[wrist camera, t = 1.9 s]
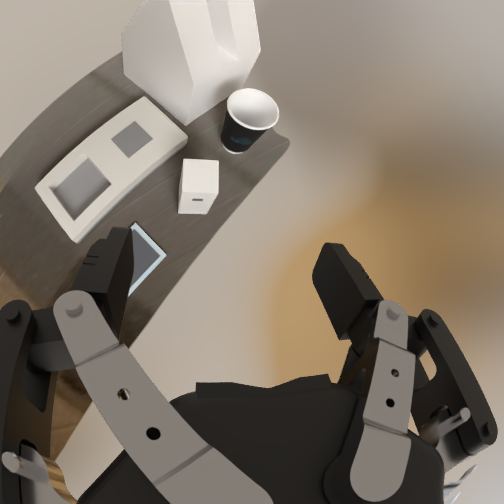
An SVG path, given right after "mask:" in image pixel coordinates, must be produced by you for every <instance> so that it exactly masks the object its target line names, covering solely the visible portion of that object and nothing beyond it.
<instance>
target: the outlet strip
mask: <svg viewBox="0 0 504 504" xmlns="http://www.w3.org/2000/svg"><path fill="white" fill-rule="evenodd" d="M187 141H188V136H187V135H186V134H185V133H184V132H183V131H182V130H181V129H180V128H179V127H178V126H177V125H175V124H174V123H173V122H172V121H171V120H170V119H169V118H168V117H167V116H166V115H165V114H164V113H162V112H161V111H160V110H159V109H158V108H157V107H156V106H155V105H154V104H153V103H152V102H150V101H149V100H148V99H147V98H146V97H145V96H144V97H142V98H141V99H139V100H138V101H136V102H134V103H133V104H132V105H130V106H129V107H127V108H126V109H124V110H123V111H121V112H120V113H119V114H117V115H116V116H114V117H113V118H112V119H110V120H109V121H108V122H106V123H105V124H104V125H102V126H101V127H100V128H99V129H97V130H96V131H95V132H94V133H92V134H91V135H90V136H89V137H87V138H86V139H85V140H84V141H83V142H81V143H80V144H79V145H78V146H77V147H76V148H75V149H73V150H72V151H71V152H70V153H69V154H68V155H67V156H66V157H65V158H64V159H62V160H61V161H60V162H59V163H58V164H57V165H56V166H55V167H54V168H53V169H52V170H51V171H50V172H49V173H48V174H47V175H46V176H45V177H44V178H43V179H42V180H41V181H40V182H39V183H38V184H37V186H36V187H35V189H36V191H37V192H38V194H39V195H40V197H41V198H42V200H43V201H44V203H45V204H46V206H47V207H48V209H49V210H50V211H51V213H52V214H53V216H54V217H55V218H56V220H57V221H58V222H59V224H60V225H61V227H62V228H63V229H64V230H65V232H66V233H67V234H68V236H69V237H70V238H71V240H72V241H74V242H76V243H78V244H79V243H80V242H81V241H82V239H83V238H84V237H85V236H86V235H87V234H88V233H89V232H90V231H91V230H92V229H93V228H94V227H95V226H96V225H97V224H98V223H99V222H100V221H101V220H102V219H103V218H104V217H105V216H106V215H107V214H108V213H109V212H110V211H111V210H112V209H113V208H114V207H115V206H116V205H117V204H118V203H119V202H120V201H121V200H122V199H123V198H125V197H126V196H127V195H128V194H129V193H130V192H131V191H132V190H133V189H134V188H136V187H137V186H138V185H139V184H140V183H141V182H142V181H143V180H145V179H146V178H147V177H148V176H149V175H150V174H152V173H153V172H154V171H155V170H156V169H158V168H159V167H160V166H161V165H162V164H164V163H165V162H166V161H167V160H169V159H170V158H171V157H172V156H174V155H175V154H176V153H177V152H179V151H180V150H181V149H183V148H184V147H185V146H187Z"/></svg>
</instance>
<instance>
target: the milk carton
mask: <svg viewBox="0 0 504 504" xmlns="http://www.w3.org/2000/svg"><path fill="white" fill-rule="evenodd" d="M122 52H123V67H124V75H125V76H127V77H128V78H129V79H130V80H132V81H133V82H134V83H135V84H136V85H138V86H139V87H140V88H141V89H143V90H144V91H145V92H146V93H147V94H149V95H150V96H151V97H152V98H153V99H154V100H156V101H157V102H158V103H159V104H160V105H162V106H163V107H164V108H165V109H166V110H167V111H169V112H170V113H171V114H172V115H173V116H174V117H175V118H177V119H178V120H179V121H180V122H181V123H182V124H183V125H185V126H186V125H188V124H189V123H191V122H192V121H193V120H195V119H196V118H198V117H199V116H200V115H202V114H203V113H205V112H206V111H208V110H209V109H211V108H212V107H214V106H215V105H217V104H218V103H220V102H221V101H223V100H224V99H226V98H228V97H229V96H230V95H231V94H232V93H233V92H234V91H236V90H239V89H242V88H243V86H244V84H245V82H246V80H247V77H248V75H249V73H250V71H251V69H252V67H253V65H254V63H255V61H256V59H257V57H258V55H259V53H260V52H261V49H260V41H259V34H258V28H257V21H256V15H255V8H254V2H253V0H144V2H143V3H142V4H141V6H140V7H139V9H138V10H137V11H136V13H135V14H134V16H133V17H132V19H131V20H130V22H129V23H128V25H127V26H126V28H125V29H124V31H123V33H122Z"/></svg>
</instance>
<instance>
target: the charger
mask: <svg viewBox="0 0 504 504" xmlns="http://www.w3.org/2000/svg"><path fill="white" fill-rule="evenodd" d="M218 165H219V161H214V160H198V159H184V160H183V166H182V172H181V178H180V184H179V202H178V213H181V214H207V212H208V211H209V209H210V207H211V205H212V203H213V202H214V200H215V198H216V197H217V195H218Z"/></svg>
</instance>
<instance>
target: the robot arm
mask: <svg viewBox="0 0 504 504" xmlns="http://www.w3.org/2000/svg"><path fill="white" fill-rule="evenodd" d="M133 273H134V252H133V236H132V229H131V228H125V227H113V228H112V229H111V231H110V233H109V235H108V237H107V239H99V240H98V241H97V242H95V243H94V244H93V245H92V246H91V247H90V249H89V251H88V253H87V255H86V257H85V259H84V261H83V265H82V266H81V268H80V270H79V272H78V274H77V276H76V279H75V281H74V283H73V285H72V288H71V290H70V292H67V293H65V294H63V295H62V296H60V297H59V298H58V299H57V301H56V302H55V305H54V307H51V308H46V309H40V310H34V311H32V310H31V308H30V306H29V304H28V303H27V302H25V301H23V300H13V301H11V302H9V303H7V304H6V305H5V306H3V308H2V309H1V310H0V504H444V500H443V487H444V475H445V473H446V472H447V471H449V470H450V469H452V468H453V467H454V466H456V465H457V464H459V463H461V462H463V461H465V460H467V459H469V458H471V457H473V456H474V455H476V454H477V453H478V452H480V451H482V450H483V449H485V448H487V447H488V446H490V445H492V444H493V443H494V442H495V441H496V438H497V433H498V430H497V424H496V422H495V419H494V417H493V414H492V412H491V410H490V407H489V405H488V403H487V401H486V398H485V396H484V394H483V392H482V390H481V388H480V385H479V384H478V381H477V380H476V377H475V375H474V373H473V372H472V370H471V368H470V366H469V364H468V362H467V360H466V359H465V357H464V355H463V353H462V352H461V350H460V348H459V346H458V344H457V343H456V341H455V339H454V338H453V336H452V334H451V333H450V331H449V330H448V328H447V326H446V325H445V323H444V321H443V320H442V318H441V317H440V316H439V315H438V314H437V313H435V312H434V311H432V310H429V309H424V310H423V311H422V312H421V313H420V315H419V316H418V317H417V318H416V317H412V316H408V315H407V313H406V311H405V310H404V309H403V307H402V306H400V305H399V304H398V303H396V302H394V301H391V300H384V299H383V297H382V296H381V294H380V293H379V291H378V289H377V288H376V286H375V285H374V284H373V282H372V281H371V279H369V276H368V274H367V273H366V272H365V270H364V269H363V267H362V266H361V264H360V263H359V262H358V261H357V260H356V259H354V258H353V257H352V256H351V255H350V254H349V252H348V251H347V249H346V248H345V247H344V245H343V244H338V243H325V244H324V245H323V247H322V250H321V252H320V255H319V257H318V260H317V262H316V264H315V267H314V269H313V274H312V280H313V284H314V286H315V288H316V290H317V293H318V295H319V297H320V299H321V301H322V303H323V305H324V308H325V310H326V312H327V314H328V316H329V319H330V321H331V323H332V325H333V328H334V330H335V332H336V334H337V337H338V339H339V340H346V339H350V340H351V342H352V344H351V346H350V347H349V350H348V353H347V356H346V360H345V363H344V366H343V369H342V372H341V375H340V378H339V380H338V382H337V384H336V383H331V381H330V378H329V376H328V374H323V375H316V376H308V377H300V378H297V379H294V380H292V381H289V382H286V383H283V384H281V385H278V386H275V387H272V388H262V387H255V386H249V385H244V384H238V383H233V382H224V383H223V382H220V383H198V382H197V383H196V391H195V392H191V393H187V394H185V395H182V396H179V397H177V398H175V399H173V400H171V401H170V402H168V401H167V400H166V398H165V397H164V396H163V395H162V393H161V392H160V391H159V390H158V389H157V387H156V386H155V385H154V383H153V382H152V381H151V380H150V378H149V377H148V376H147V374H146V373H145V372H144V370H143V369H142V368H141V366H140V365H139V364H138V362H137V361H136V359H135V358H134V357H133V355H132V354H131V352H130V351H129V349H128V348H127V347H126V345H125V344H124V343H119V342H118V341H119V338H120V333H121V327H122V322H123V317H124V312H125V308H126V303H127V299H128V294H129V290H130V286H131V282H132V278H133ZM427 349H428V351H429V353H430V355H431V357H432V359H433V361H434V363H435V365H436V368H437V372H436V375H435V376H434V378H433V379H431V380H429V378H428V376H427V374H426V372H425V370H424V368H423V366H422V364H421V362H420V360H419V358H420V357H421V356H422V355H423V354H424V353H425V352H426V350H427ZM74 368H76V370H77V372H78V374H79V376H80V378H81V380H82V382H83V384H84V386H85V388H86V389H87V391H88V393H89V395H90V397H91V398H92V400H93V402H94V404H95V405H96V407H97V409H98V410H99V412H100V413H101V415H102V417H103V418H104V420H105V421H106V423H107V424H108V426H109V427H110V429H111V431H112V432H113V433H114V435H115V436H116V438H117V439H118V441H119V442H120V443H121V445H122V446H123V448H124V450H123V451H122V452H121V453H120V454H119V456H118V457H117V458H116V459H115V460H114V461H113V462H112V463H111V464H110V466H109V467H108V468H107V469H106V470H105V471H104V472H103V473H102V474H101V475H100V476H99V477H98V478H97V479H96V480H95V482H94V483H93V484H92V485H91V486H90V487H89V488H88V489H87V490H86V491H85V492H84V493H83V494H82V495H81V496H80V498H79V499H78V501H77V500H76V499H75V498H74V497H73V496H72V495H71V494H70V492H69V491H68V489H67V487H66V484H65V480H64V476H63V473H62V471H61V469H60V467H59V466H58V465H57V463H56V462H55V461H54V460H52V459H51V458H50V437H51V422H52V412H53V403H54V395H55V388H56V381H57V375H58V371H60V370H67V369H74ZM410 411H411V414H412V417H413V419H414V422H415V425H416V427H417V430H418V433H419V436H418V435H416V434H415V433H413V432H412V431H411V430H409V429H408V423H409V417H410Z"/></svg>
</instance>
